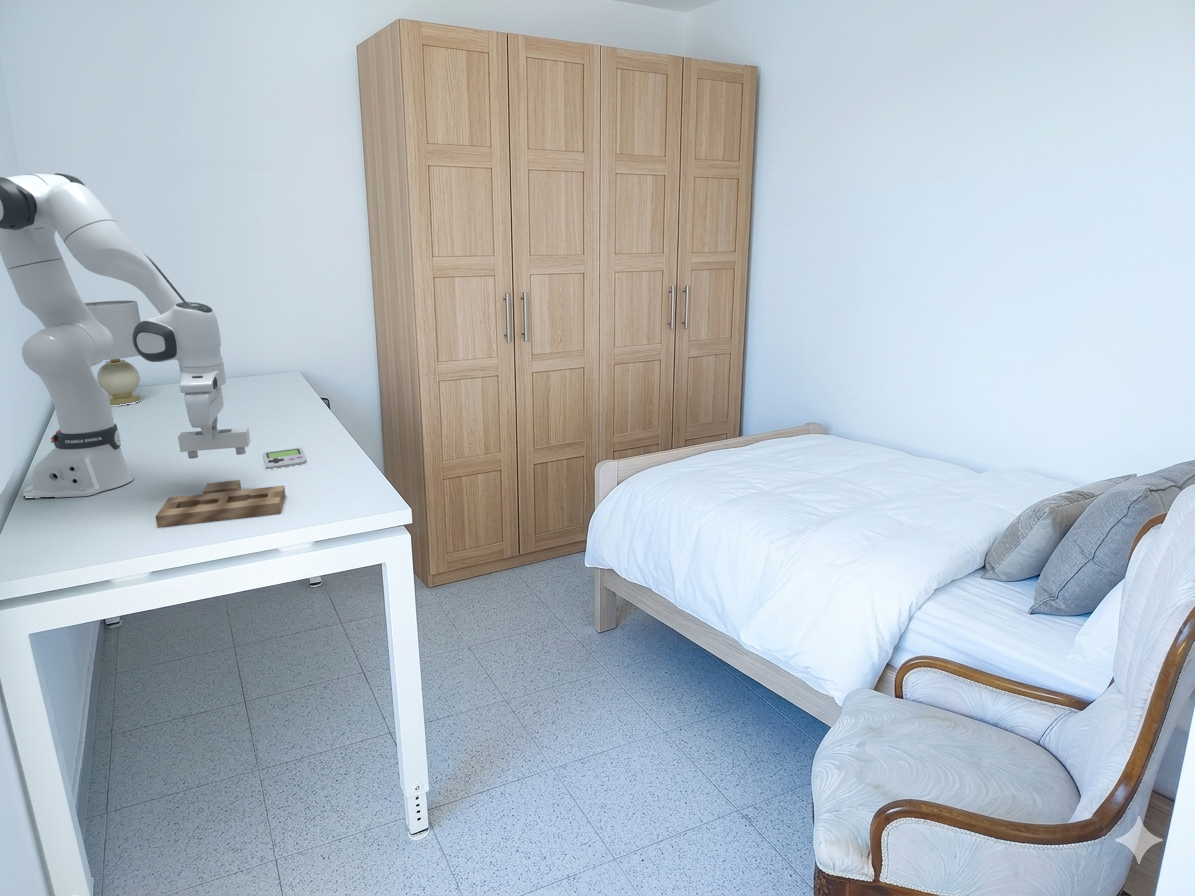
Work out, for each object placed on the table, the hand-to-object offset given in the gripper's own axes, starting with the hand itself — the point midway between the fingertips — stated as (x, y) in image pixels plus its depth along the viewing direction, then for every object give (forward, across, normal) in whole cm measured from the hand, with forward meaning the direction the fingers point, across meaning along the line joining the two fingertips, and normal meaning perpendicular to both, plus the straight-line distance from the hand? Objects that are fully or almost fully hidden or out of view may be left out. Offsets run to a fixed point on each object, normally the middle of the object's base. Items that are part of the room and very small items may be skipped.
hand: (211, 437), depth 178 cm
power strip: (+2, 0, +1) cm, 2 cm away
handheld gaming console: (+14, -26, +12) cm, 32 cm away
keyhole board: (+14, +11, +3) cm, 18 cm away
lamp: (+17, -122, -50) cm, 133 cm away
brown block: (+14, 0, +1) cm, 14 cm away
